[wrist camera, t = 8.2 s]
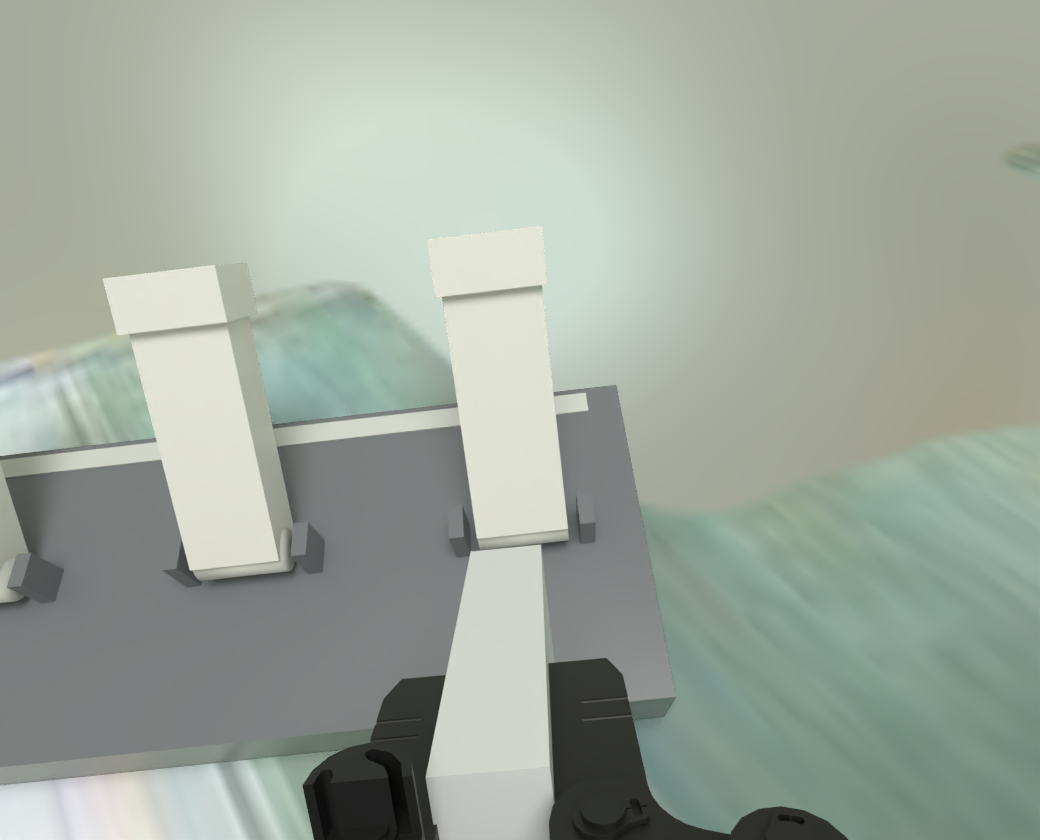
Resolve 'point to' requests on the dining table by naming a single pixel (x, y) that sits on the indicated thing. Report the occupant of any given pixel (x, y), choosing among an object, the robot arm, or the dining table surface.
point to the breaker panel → (292, 594)
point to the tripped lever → (503, 382)
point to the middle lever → (209, 415)
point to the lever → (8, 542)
